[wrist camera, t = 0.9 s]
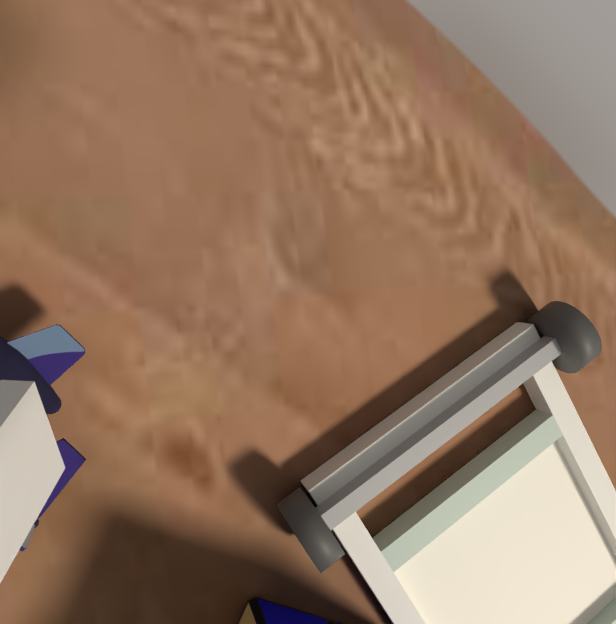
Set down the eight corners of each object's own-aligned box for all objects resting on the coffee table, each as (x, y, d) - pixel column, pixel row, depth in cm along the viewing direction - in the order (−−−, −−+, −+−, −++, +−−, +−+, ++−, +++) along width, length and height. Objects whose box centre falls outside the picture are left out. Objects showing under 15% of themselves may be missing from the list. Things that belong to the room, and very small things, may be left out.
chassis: (269, 493, 30) (288, 524, 27) (534, 299, 35) (584, 303, 31) (492, 829, 37) (534, 894, 33) (695, 629, 41) (753, 667, 37)
